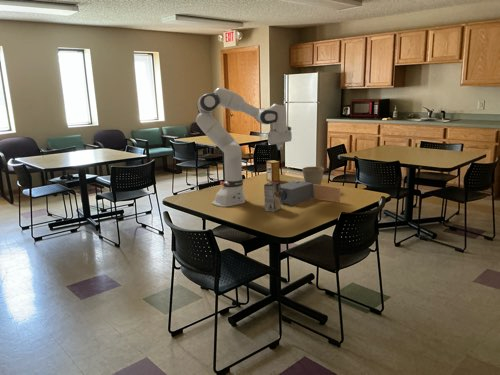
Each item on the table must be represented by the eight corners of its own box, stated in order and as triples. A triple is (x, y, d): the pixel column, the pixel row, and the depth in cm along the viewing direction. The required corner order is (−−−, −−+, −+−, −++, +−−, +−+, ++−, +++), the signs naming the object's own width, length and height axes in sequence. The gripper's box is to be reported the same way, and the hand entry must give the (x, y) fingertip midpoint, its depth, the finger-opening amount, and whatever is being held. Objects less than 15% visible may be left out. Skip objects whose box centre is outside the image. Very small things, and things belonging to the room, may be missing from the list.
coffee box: (272, 206, 249) (271, 181, 246) (281, 208, 246) (280, 182, 242) (264, 210, 242) (263, 184, 238) (274, 212, 239) (273, 185, 235)
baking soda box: (279, 181, 318) (279, 161, 314) (272, 182, 315) (271, 162, 312) (273, 179, 326) (273, 159, 323) (266, 180, 324) (266, 160, 320)
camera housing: (289, 205, 250) (289, 188, 248) (272, 202, 260) (272, 185, 257) (313, 197, 266) (313, 181, 264) (296, 194, 276) (296, 179, 274)
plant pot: (310, 187, 296) (310, 165, 292) (328, 190, 286) (328, 167, 282) (298, 191, 286) (297, 168, 282) (315, 194, 275) (315, 171, 272)
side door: (340, 201, 254) (341, 187, 252) (339, 202, 252) (339, 188, 250) (314, 197, 267) (314, 183, 264) (312, 197, 265) (312, 184, 263)
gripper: (272, 130, 257) (273, 151, 260) (293, 127, 271) (293, 148, 274) (265, 129, 262) (265, 151, 265) (285, 127, 276) (286, 147, 279)
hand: (280, 149), depth 270 cm, fingers closed
